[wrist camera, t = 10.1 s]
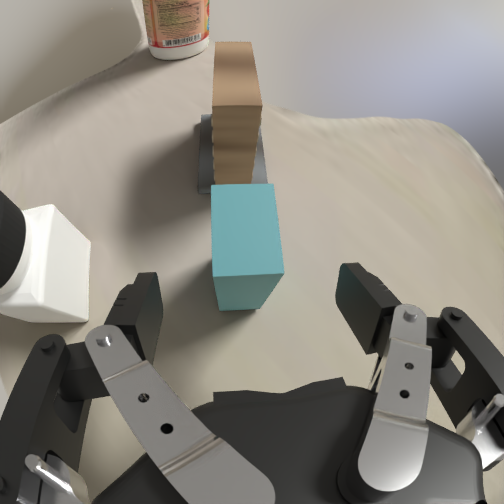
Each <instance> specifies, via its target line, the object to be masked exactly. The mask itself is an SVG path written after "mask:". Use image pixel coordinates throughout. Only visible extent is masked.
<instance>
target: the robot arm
mask: <svg viewBox="0 0 504 504" xmlns="http://www.w3.org/2000/svg"><path fill="white" fill-rule="evenodd" d="M335 298H336V304H337V307H338V308H339V310H340V312H341V313H342V315H343V316H344V318H345V320H346V321H347V323H348V325H349V326H350V328H351V330H352V331H353V333H354V335H355V336H356V338H357V340H358V341H359V343H360V345H361V346H362V348H363V350H364V351H365V353H366V355H367V354H372V353H376V352H377V353H378V357H377V360H376V362H375V366H374V369H373V373H372V376H371V379H370V383H369V386H368V389H365V388H361V387H356V386H346V384H345V382H344V379H343V377H340V378H335V379H329V380H324V381H318V382H313V383H310V384H308V385H305V386H302V387H300V388H297V389H294V390H291V391H289V392H286V393H268V392H258V391H249V390H243V391H226V392H213V397H214V401H213V402H209V403H206V404H203V405H200V406H198V407H196V408H194V409H192V410H191V411H190V410H189V409H188V408H187V406H186V405H185V404H184V403H183V402H182V401H181V400H180V399H179V398H178V396H177V395H176V394H175V393H174V392H173V391H172V389H171V388H170V387H169V386H168V385H167V384H166V382H165V381H164V380H163V379H162V378H161V376H160V375H159V374H158V373H157V371H156V370H155V369H154V368H153V366H152V364H153V359H154V354H155V350H156V345H157V340H158V336H159V331H160V327H161V323H162V318H163V303H162V298H161V292H160V287H159V281H158V276H157V273H156V272H147V273H138V275H137V277H136V279H135V281H134V284H128V285H127V286H125V287H124V288H123V289H122V290H121V291H120V292H119V294H118V296H117V298H116V300H115V302H114V304H113V306H112V308H111V310H110V312H109V315H108V317H107V319H106V321H105V323H104V325H102V326H99V327H96V328H94V329H93V330H91V331H90V332H89V333H88V334H87V336H86V338H85V342H80V343H75V344H69V345H66V343H65V340H64V339H63V337H62V336H60V335H57V334H51V335H47V336H44V337H42V338H41V339H39V340H38V341H37V342H36V344H35V345H34V347H33V349H32V351H31V353H30V354H29V356H28V358H27V360H26V362H25V364H24V366H23V368H22V370H21V372H20V375H19V377H18V379H17V381H16V383H15V385H14V388H13V390H12V392H11V395H10V397H9V399H8V402H7V404H6V407H5V409H4V412H3V415H2V417H1V420H0V504H91V502H90V500H89V497H88V489H87V485H86V482H85V481H84V479H83V478H82V477H81V476H80V475H79V474H78V468H79V462H80V455H81V449H82V444H83V438H84V433H85V428H86V423H87V418H88V414H89V410H90V405H91V401H92V399H94V398H100V397H105V396H111V397H112V399H113V401H114V402H115V404H116V406H117V408H118V409H119V411H120V413H121V414H122V416H123V417H124V419H125V421H126V422H127V424H128V425H129V427H130V429H131V430H132V432H133V433H134V435H135V436H136V438H137V439H138V441H139V442H140V443H141V445H142V446H143V448H144V449H145V451H146V453H145V454H143V455H142V456H141V457H140V458H139V459H138V460H137V461H136V462H135V463H134V464H133V465H132V466H131V467H130V468H129V469H127V470H126V471H125V472H124V473H123V474H122V475H121V476H120V477H119V478H118V479H116V480H115V481H114V482H113V483H112V484H111V485H110V486H108V487H107V488H106V489H105V490H104V491H103V492H102V493H100V494H99V495H98V496H97V497H96V498H95V499H94V501H93V502H92V504H487V502H486V500H485V495H484V488H483V471H488V470H490V469H491V468H493V467H494V466H495V465H497V464H498V463H499V462H500V461H502V460H503V459H504V357H503V355H502V354H501V353H500V352H499V351H498V349H497V348H496V347H495V346H494V345H493V343H492V342H491V341H490V340H489V339H488V338H487V336H486V335H485V334H484V333H483V332H482V331H481V330H480V329H479V327H478V326H477V325H476V324H475V323H474V322H473V321H472V320H471V319H470V318H469V317H468V315H467V314H466V313H465V312H463V311H462V310H460V309H458V308H455V307H446V308H444V309H443V310H442V312H441V315H440V317H439V318H436V317H426V314H425V313H424V312H423V311H422V310H421V309H420V308H418V307H416V306H414V305H410V304H402V303H401V302H400V301H399V300H398V299H397V298H396V297H395V295H394V294H393V293H392V292H391V291H390V290H388V288H387V287H386V286H385V285H383V283H382V281H381V280H380V279H379V278H378V277H376V276H374V275H373V274H371V273H369V272H367V271H366V270H365V269H364V268H363V267H362V266H361V265H360V264H359V263H343V264H342V265H341V267H340V271H339V277H338V283H337V289H336V295H335ZM456 350H457V351H458V353H459V354H460V355H461V357H462V358H463V360H464V361H465V371H464V373H463V374H462V375H461V373H460V372H459V370H458V369H457V367H456V366H455V365H454V363H453V362H452V360H451V358H452V356H453V354H454V352H455V351H456ZM430 384H431V386H432V387H433V389H434V391H435V392H436V394H437V396H438V398H439V399H440V401H441V403H442V405H443V406H444V408H445V410H446V412H447V414H448V415H449V417H450V419H451V421H452V423H453V425H454V426H455V428H456V433H454V432H452V431H450V430H448V429H446V428H444V427H442V426H440V425H438V424H435V423H433V422H431V421H429V420H427V419H426V415H427V407H428V399H429V389H430Z"/></svg>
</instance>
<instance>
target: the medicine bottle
mask: <svg viewBox="0 0 504 504" xmlns="http://www.w3.org/2000/svg"><path fill="white" fill-rule="evenodd" d="M90 250H91V243H90V241H89V240H88V239H87V238H86V237H85V236H84V235H83V234H82V233H81V232H80V231H79V230H78V229H77V228H76V227H75V226H74V225H73V224H72V223H71V222H70V221H69V220H68V219H67V218H66V217H65V216H64V215H63V214H62V213H61V212H60V211H59V210H58V209H57V208H56V207H55V206H54V205H53V204H48V205H44V206H40V207H35V208H31V209H27V210H23V211H22V210H20V209H19V208H18V207H17V206H16V205H15V204H14V203H13V202H12V201H11V200H10V199H9V198H8V197H7V196H6V195H4V194H3V193H2V192H1V191H0V314H3V315H6V316H10V317H13V318H17V319H20V320H24V321H27V322H48V323H54V322H86V321H88V319H89V265H90Z"/></svg>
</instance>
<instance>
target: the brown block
mask: <svg viewBox="0 0 504 504" xmlns="http://www.w3.org/2000/svg"><path fill="white" fill-rule="evenodd" d="M261 111H262V100H261V94H260V89H259V83H258V78H257V71H256V66H255V60H254V55H253V50H252V44H251V42H215V58H214V77H213V101H212V113H213V114H210V115H201V130H200V149H199V172H198V191H199V194H208V193H211V185H225V184H268V182H267V174H266V166H265V158H264V151H263V143H262V136H261V129H260V126H261V119H262V118H261Z"/></svg>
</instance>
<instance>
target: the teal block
mask: <svg viewBox="0 0 504 504" xmlns="http://www.w3.org/2000/svg"><path fill="white" fill-rule="evenodd" d="M211 229H212V270H213V281H214V286H215V291H216V296H217V301H218V306H219V311H228V310H247V309H260V308H261V306H262V305H263V304H264V302H265V301H266V299H267V298H268V296H269V295H270V293H271V292H272V291H273V289H274V288H275V286H276V285H277V283H278V282H279V280H280V279H281V277H282V276H283V275H284V265H283V257H282V248H281V240H280V232H279V223H278V216H277V208H276V200H275V193H274V185H273V184H225V185H211Z"/></svg>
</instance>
